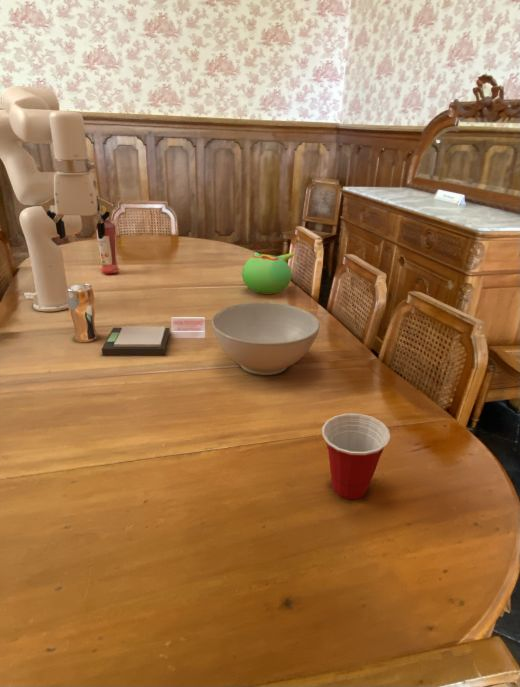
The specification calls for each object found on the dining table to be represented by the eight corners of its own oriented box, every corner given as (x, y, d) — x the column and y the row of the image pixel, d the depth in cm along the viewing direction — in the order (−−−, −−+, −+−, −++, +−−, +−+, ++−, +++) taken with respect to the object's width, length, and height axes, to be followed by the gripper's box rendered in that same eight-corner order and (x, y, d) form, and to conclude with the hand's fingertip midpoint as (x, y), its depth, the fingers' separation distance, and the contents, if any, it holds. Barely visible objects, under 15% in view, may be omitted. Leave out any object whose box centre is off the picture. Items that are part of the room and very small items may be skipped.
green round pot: (234, 295, 169) (235, 255, 163) (252, 282, 183) (253, 245, 177) (281, 302, 163) (283, 261, 157) (296, 289, 177) (299, 250, 171)
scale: (102, 355, 123) (101, 345, 122) (113, 333, 135) (112, 324, 134) (164, 355, 124) (163, 345, 123) (170, 333, 137) (169, 325, 135)
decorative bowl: (325, 351, 129) (329, 310, 124) (301, 399, 106) (305, 351, 101) (235, 335, 137) (235, 296, 131) (193, 377, 114) (192, 331, 108)
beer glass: (91, 344, 128) (84, 292, 122) (68, 341, 130) (59, 289, 123) (103, 334, 135) (97, 284, 128) (81, 331, 136) (74, 282, 129)
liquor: (123, 272, 190) (117, 201, 178) (109, 277, 184) (101, 203, 172) (111, 269, 193) (103, 199, 181) (96, 273, 187) (88, 201, 176)
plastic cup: (310, 467, 85) (316, 411, 80) (369, 465, 86) (378, 410, 81) (323, 512, 75) (330, 452, 70) (388, 509, 76) (400, 450, 71)
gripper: (112, 166, 119) (118, 234, 126) (41, 165, 117) (51, 234, 124) (106, 169, 112) (113, 241, 119) (30, 167, 110) (42, 240, 117)
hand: (82, 237), depth 122 cm, fingers open, 9 cm apart
